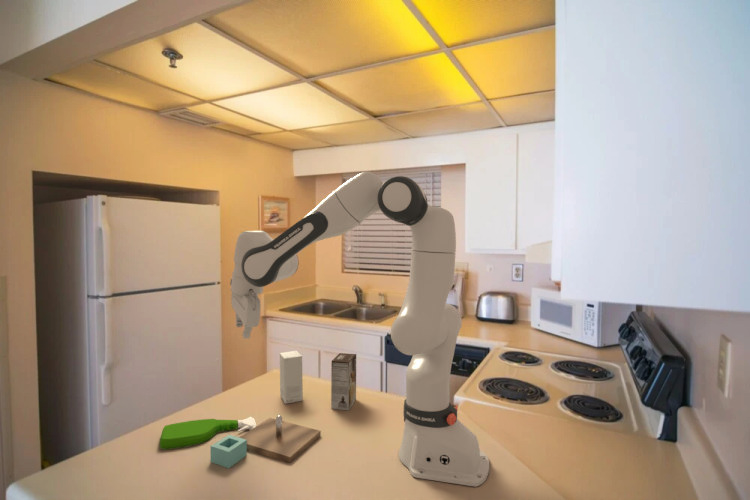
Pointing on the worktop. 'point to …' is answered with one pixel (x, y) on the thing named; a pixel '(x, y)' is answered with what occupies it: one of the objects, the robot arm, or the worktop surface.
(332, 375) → the coffee box
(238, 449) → the teal square ring
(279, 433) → the clear glass vial
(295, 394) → the skincare box
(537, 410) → the worktop surface
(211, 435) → the spray bottle
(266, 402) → the worktop surface
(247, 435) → the walnut board
